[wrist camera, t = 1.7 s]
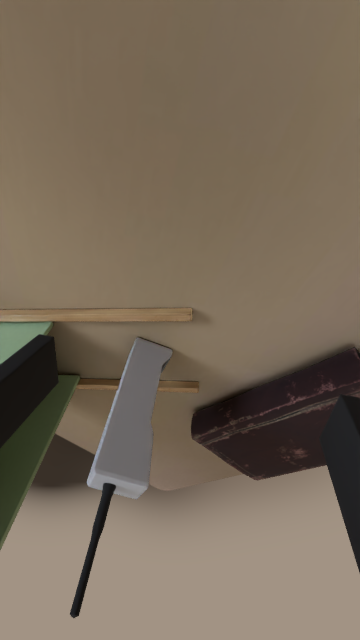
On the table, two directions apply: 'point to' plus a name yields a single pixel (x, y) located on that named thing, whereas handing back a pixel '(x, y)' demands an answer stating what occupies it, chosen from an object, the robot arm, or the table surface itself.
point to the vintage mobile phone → (125, 442)
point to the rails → (108, 315)
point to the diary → (279, 419)
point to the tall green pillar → (28, 427)
